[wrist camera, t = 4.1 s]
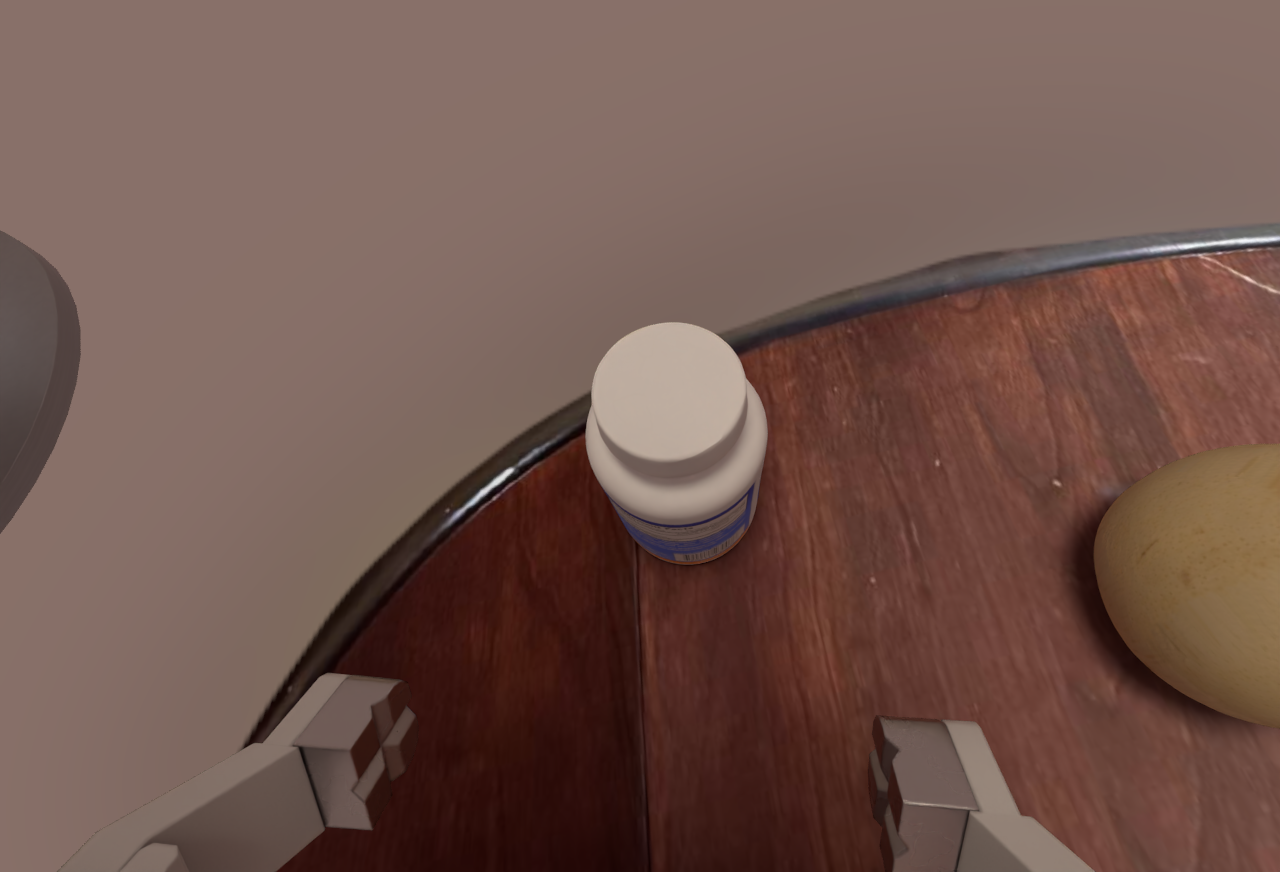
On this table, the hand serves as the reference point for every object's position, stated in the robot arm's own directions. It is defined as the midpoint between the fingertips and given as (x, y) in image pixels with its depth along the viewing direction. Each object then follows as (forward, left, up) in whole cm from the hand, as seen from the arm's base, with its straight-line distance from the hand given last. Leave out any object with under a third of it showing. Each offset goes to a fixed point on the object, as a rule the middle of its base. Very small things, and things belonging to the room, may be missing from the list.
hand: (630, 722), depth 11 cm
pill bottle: (0, +8, -12) cm, 14 cm away
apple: (+17, +5, -12) cm, 21 cm away
